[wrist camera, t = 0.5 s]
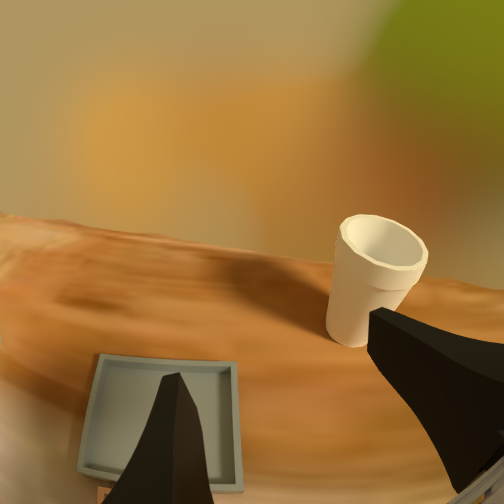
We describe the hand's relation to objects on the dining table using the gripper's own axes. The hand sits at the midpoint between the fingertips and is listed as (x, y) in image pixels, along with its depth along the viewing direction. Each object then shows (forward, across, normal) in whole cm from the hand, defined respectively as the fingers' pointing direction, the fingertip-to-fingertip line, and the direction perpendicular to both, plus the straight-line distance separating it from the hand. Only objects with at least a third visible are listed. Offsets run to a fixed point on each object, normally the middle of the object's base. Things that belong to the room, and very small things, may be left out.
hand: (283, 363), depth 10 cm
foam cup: (+18, -13, +17) cm, 28 cm away
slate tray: (+10, +10, +14) cm, 20 cm away
